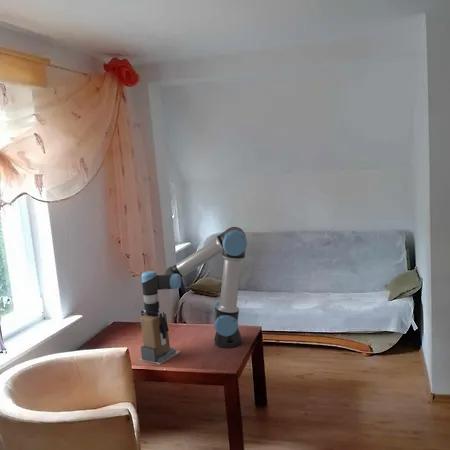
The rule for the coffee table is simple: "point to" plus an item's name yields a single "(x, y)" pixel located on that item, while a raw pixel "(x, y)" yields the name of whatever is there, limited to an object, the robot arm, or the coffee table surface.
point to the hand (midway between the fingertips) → (155, 342)
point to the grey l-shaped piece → (152, 357)
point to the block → (153, 333)
